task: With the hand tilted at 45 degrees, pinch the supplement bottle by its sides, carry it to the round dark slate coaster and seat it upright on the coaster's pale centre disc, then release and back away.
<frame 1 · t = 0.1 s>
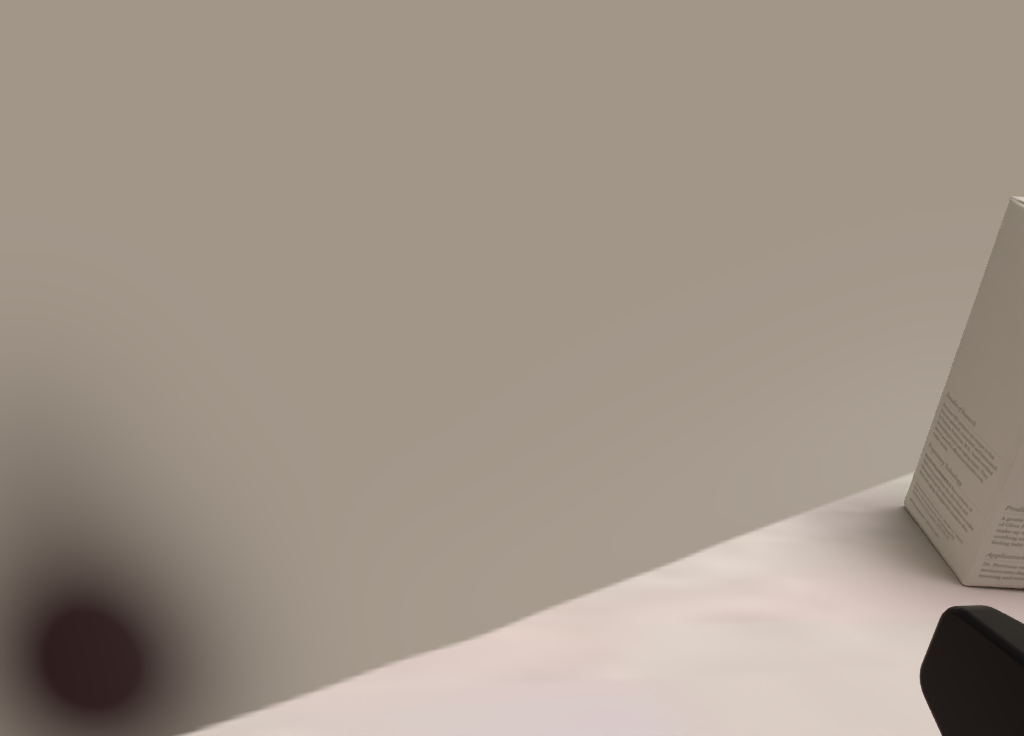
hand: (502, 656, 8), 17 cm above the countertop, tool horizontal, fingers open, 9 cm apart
skincare box: (1010, 555, 42), on the countertop
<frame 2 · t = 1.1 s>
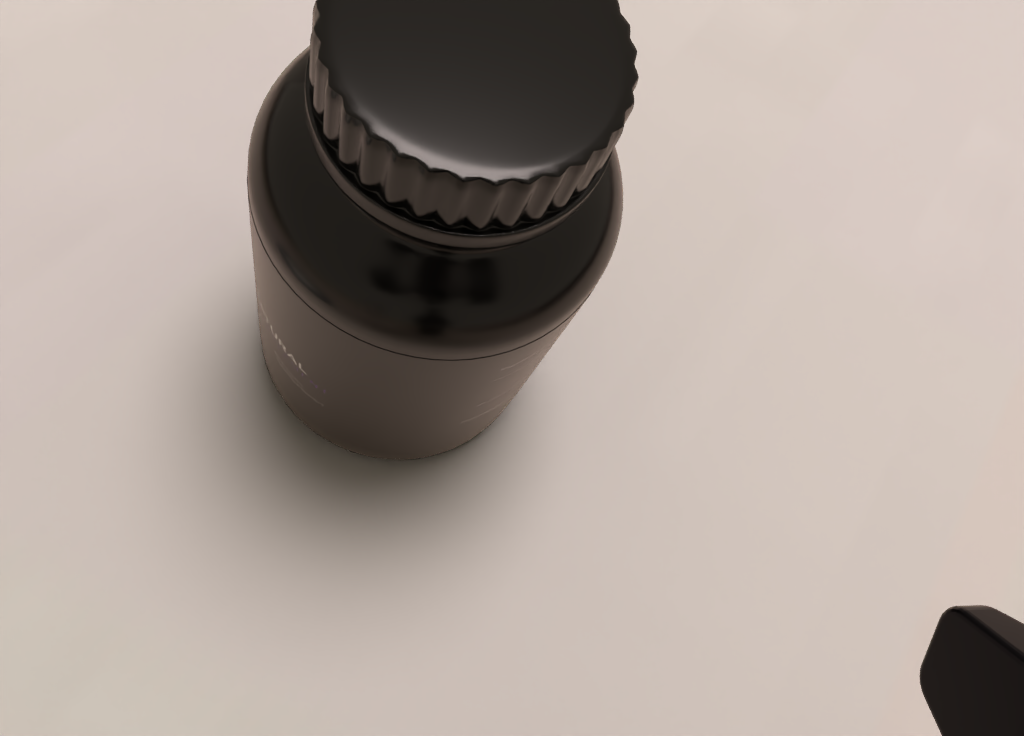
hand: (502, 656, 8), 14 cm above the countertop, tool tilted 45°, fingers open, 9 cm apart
supplement bottle: (396, 344, 24), on the countertop
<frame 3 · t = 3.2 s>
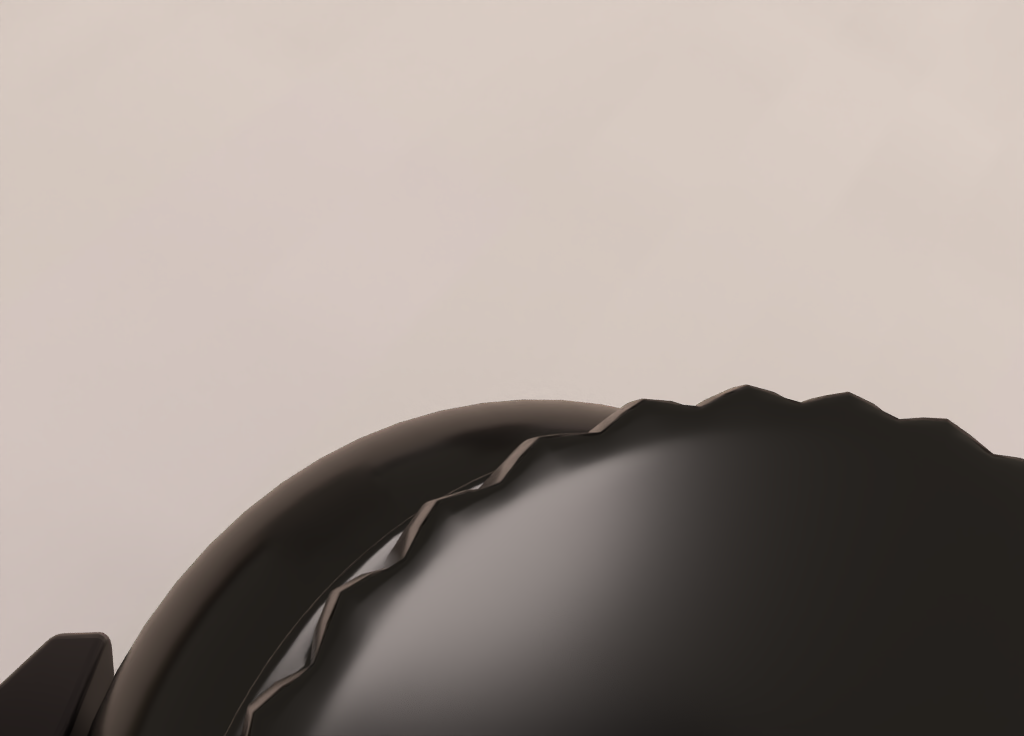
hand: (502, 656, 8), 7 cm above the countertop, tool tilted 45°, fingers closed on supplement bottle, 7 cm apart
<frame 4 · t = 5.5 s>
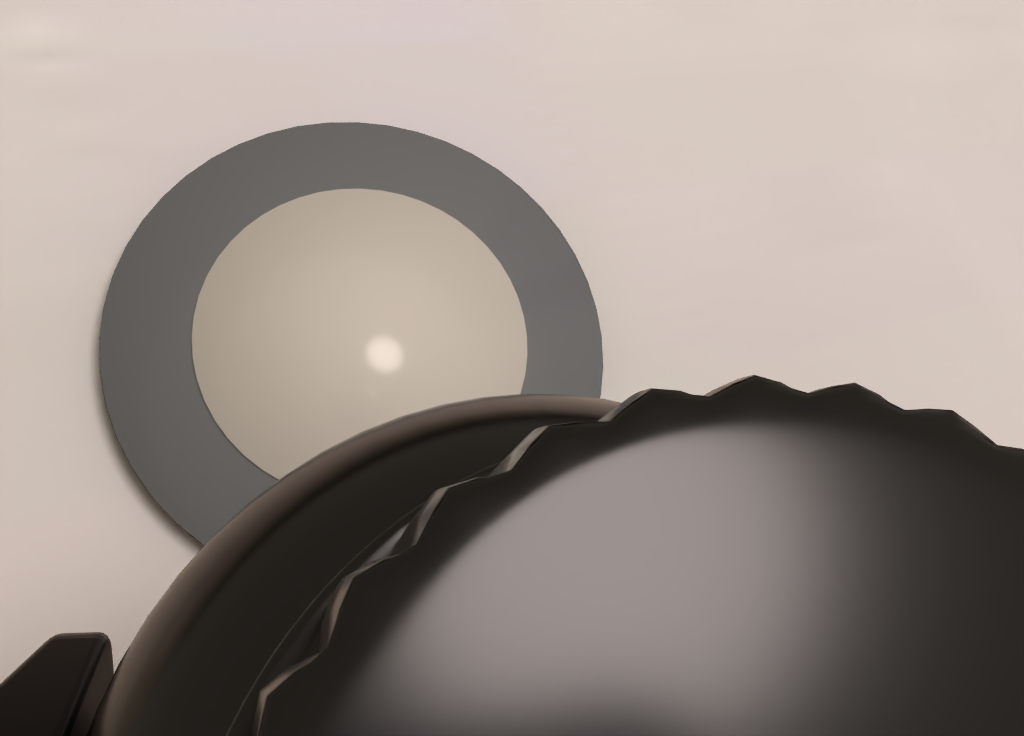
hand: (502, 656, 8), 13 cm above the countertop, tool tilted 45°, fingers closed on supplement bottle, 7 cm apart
coaster: (364, 345, 23), on the countertop
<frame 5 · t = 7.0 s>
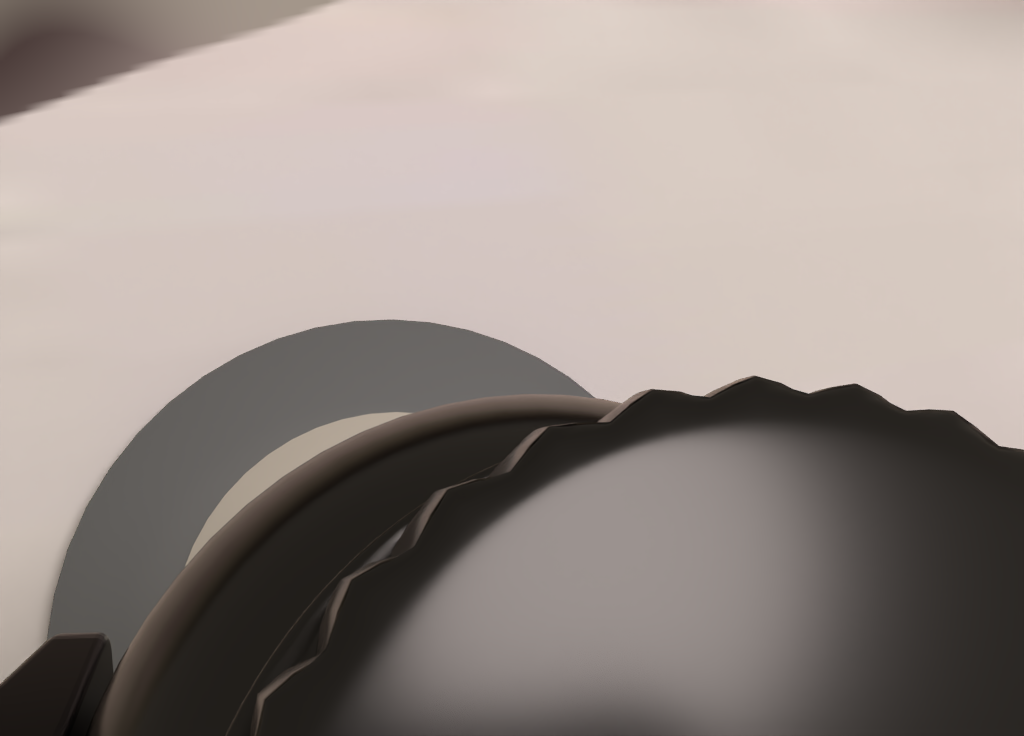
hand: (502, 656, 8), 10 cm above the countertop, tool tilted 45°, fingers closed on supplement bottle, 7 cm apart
coaster: (398, 624, 17), on the countertop
when the fingers open (8 cm above the countertop, at t = 8.1 s): supplement bottle stays where it is, resting on coaster.
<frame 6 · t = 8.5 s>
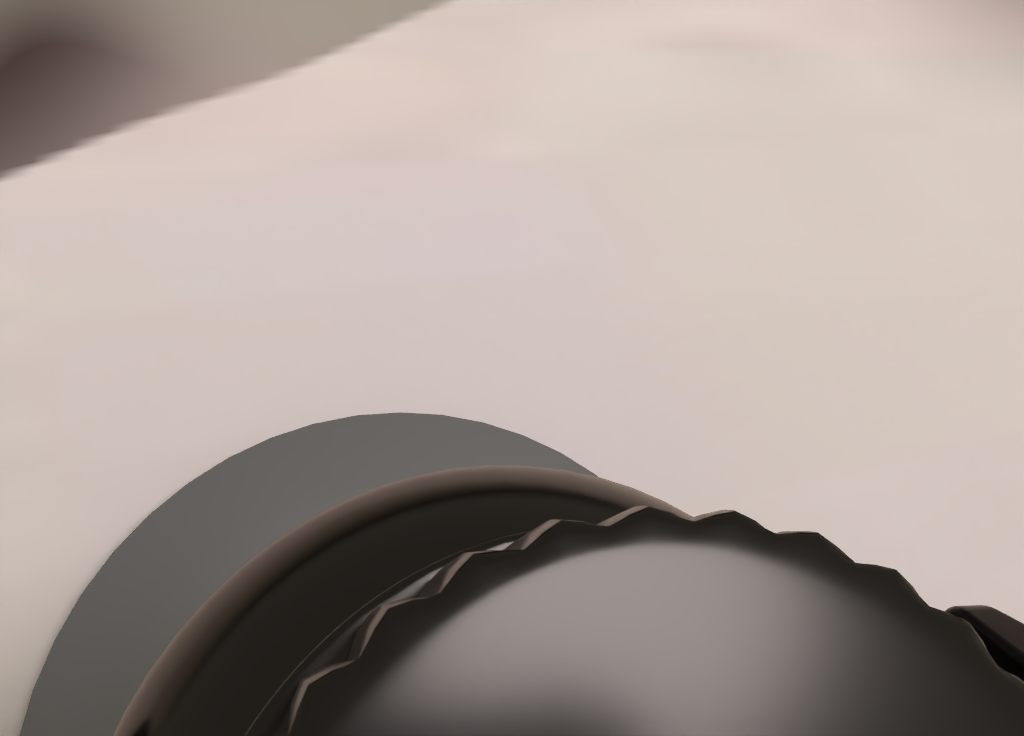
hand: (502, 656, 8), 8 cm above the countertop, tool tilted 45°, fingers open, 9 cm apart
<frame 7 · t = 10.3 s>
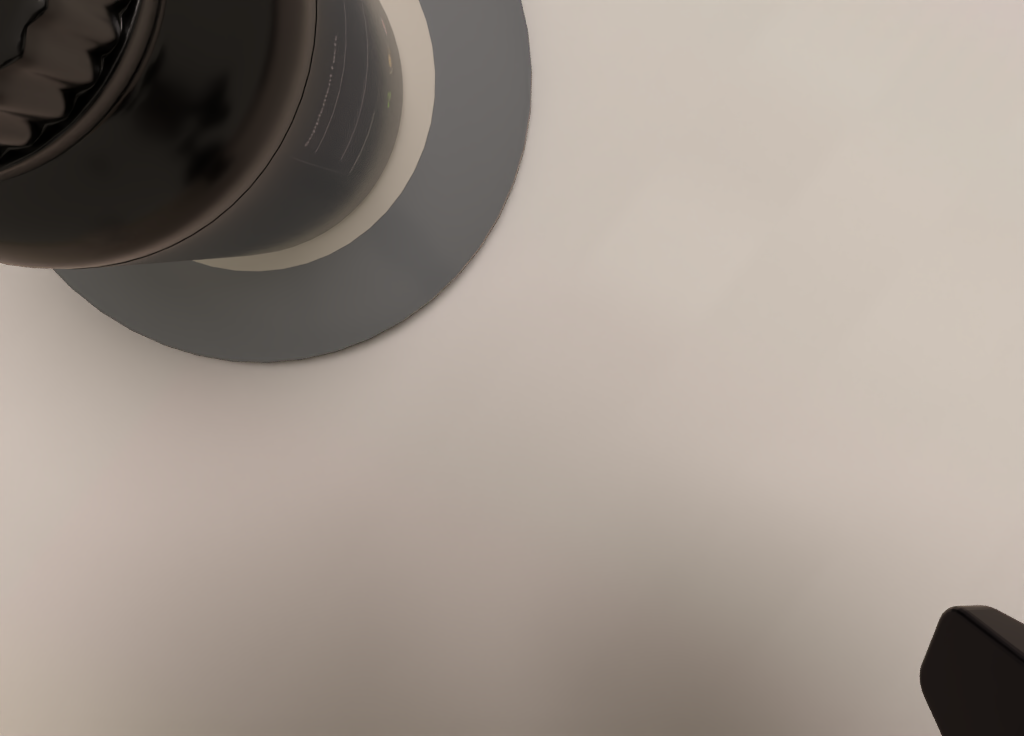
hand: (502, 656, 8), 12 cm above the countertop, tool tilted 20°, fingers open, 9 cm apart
supplement bottle: (255, 95, 20), resting on coaster
coaster: (256, 85, 20), on the countertop
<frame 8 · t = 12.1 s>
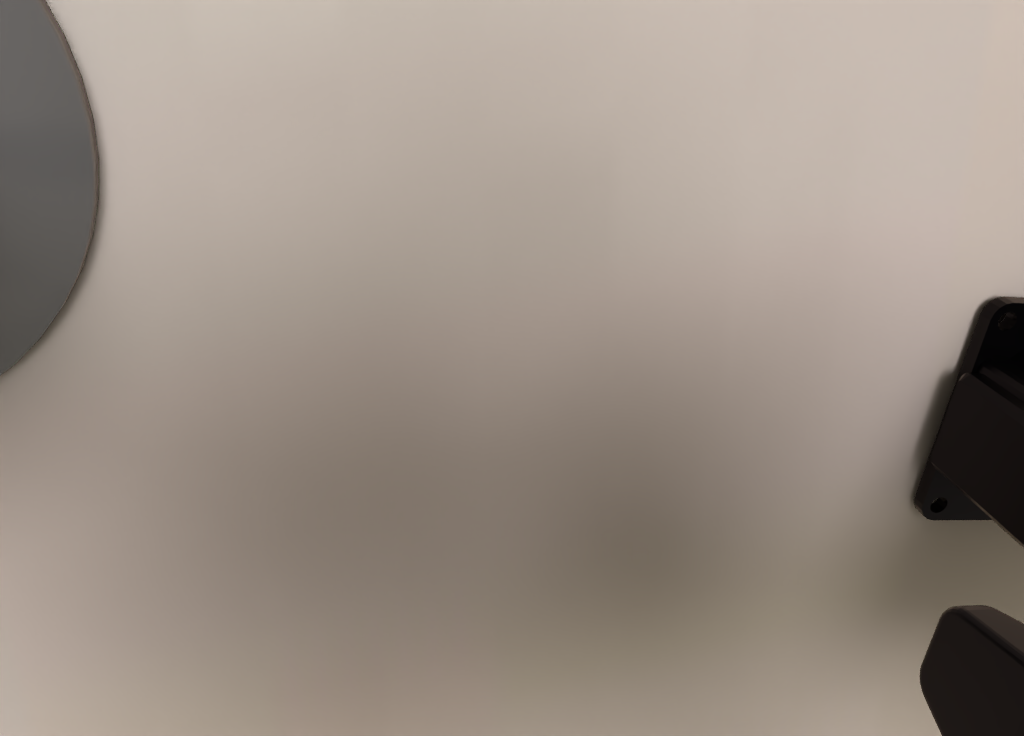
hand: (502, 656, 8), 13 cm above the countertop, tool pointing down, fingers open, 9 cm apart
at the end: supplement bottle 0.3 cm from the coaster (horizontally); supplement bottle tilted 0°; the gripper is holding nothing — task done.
